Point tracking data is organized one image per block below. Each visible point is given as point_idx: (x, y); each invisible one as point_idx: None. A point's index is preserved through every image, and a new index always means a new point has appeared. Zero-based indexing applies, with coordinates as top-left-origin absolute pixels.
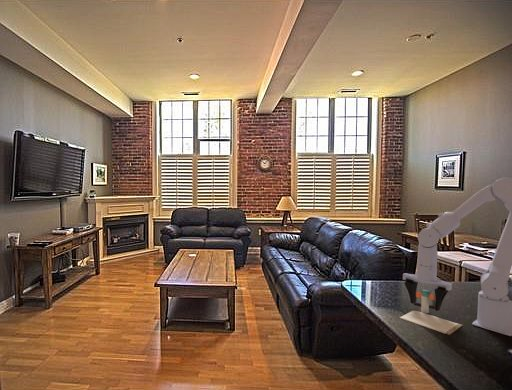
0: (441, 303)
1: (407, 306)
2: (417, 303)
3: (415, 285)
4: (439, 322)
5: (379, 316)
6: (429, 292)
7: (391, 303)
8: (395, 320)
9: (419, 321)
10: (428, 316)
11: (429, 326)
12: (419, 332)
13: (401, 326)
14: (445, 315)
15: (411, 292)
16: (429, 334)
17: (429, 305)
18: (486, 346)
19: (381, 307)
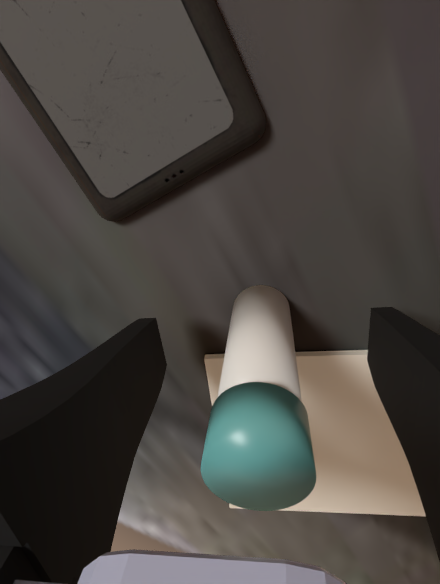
0: (433, 337)
1: (117, 307)
2: (122, 205)
3: (65, 473)
4: None
5: (164, 538)
6: (314, 471)
7: (30, 347)
8: (235, 530)
9: (328, 490)
10: (330, 389)
11: (398, 509)
12: (378, 563)
13: (291, 560)
14: (414, 229)
15: (128, 473)
16: (423, 556)
17: (216, 149)
18: None
19: None
